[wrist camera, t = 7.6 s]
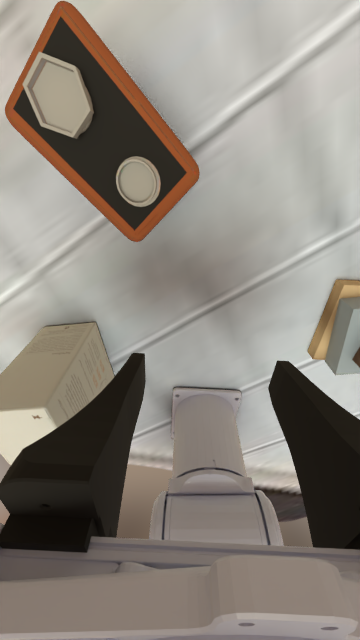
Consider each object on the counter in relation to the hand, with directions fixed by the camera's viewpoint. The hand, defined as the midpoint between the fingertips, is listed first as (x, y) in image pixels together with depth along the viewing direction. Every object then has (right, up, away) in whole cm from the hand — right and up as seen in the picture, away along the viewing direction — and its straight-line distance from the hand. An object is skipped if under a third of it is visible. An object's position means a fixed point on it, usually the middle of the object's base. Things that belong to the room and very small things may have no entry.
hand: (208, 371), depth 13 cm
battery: (-4, +14, +4) cm, 15 cm away
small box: (-12, -1, +13) cm, 18 cm away
